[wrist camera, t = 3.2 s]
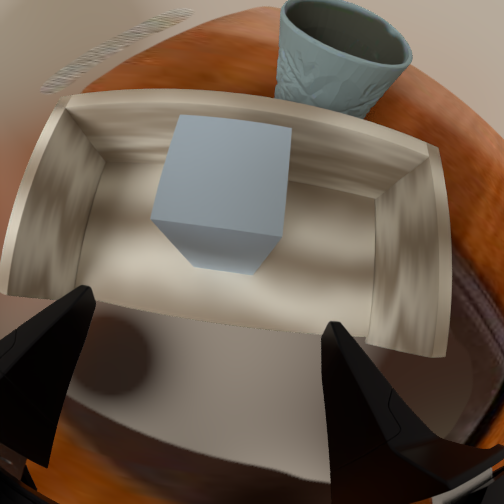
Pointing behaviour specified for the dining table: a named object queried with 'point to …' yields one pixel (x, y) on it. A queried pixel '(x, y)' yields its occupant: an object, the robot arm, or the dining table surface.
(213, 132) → the block
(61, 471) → the dining table surface
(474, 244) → the dining table surface
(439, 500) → the robot arm
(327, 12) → the grey teal cup
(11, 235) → the crate
